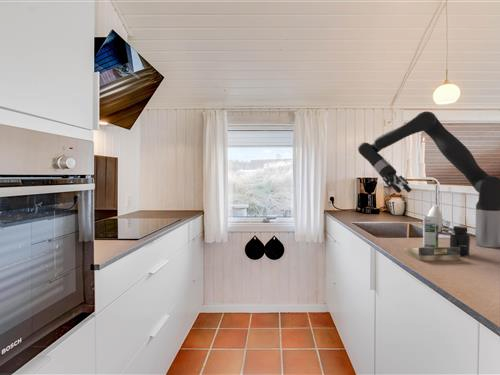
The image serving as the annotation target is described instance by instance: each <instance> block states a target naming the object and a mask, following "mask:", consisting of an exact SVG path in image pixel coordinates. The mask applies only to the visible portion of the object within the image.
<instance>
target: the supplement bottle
mask: <svg viewBox="0 0 500 375" xmlns="http://www.w3.org/2000/svg"><path fill="white" fill-rule="evenodd" d="M452 229H453V230H452V231H453V232H451V233H450V236H449V247H459V248H460V257H469V256H470V248H471V247H470V246H471V244H470V242H471V235H470V234H469V233H468V227H467V226H462V225H461V226H460V225H453V227H452Z"/></svg>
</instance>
